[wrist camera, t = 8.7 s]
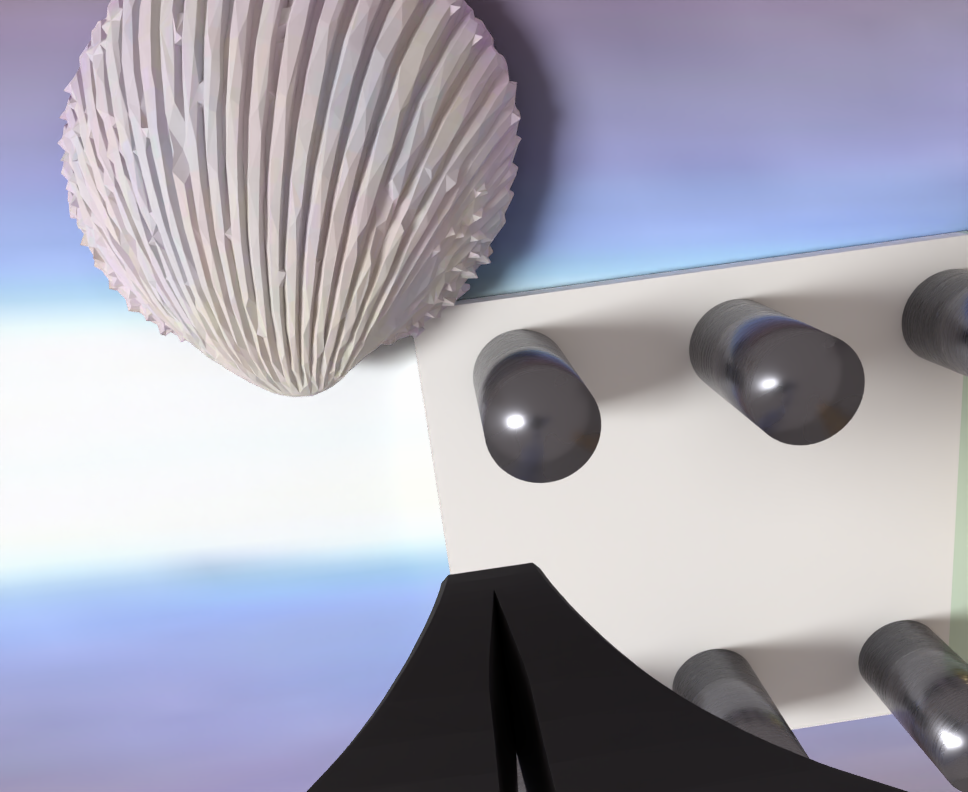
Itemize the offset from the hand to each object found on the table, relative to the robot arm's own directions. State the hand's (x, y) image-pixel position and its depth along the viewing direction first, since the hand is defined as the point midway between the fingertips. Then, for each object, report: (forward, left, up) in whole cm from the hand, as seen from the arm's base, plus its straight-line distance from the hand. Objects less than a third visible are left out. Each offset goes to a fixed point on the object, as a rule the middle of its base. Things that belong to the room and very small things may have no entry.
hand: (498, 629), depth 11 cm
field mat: (-4, -9, -10) cm, 14 cm away
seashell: (+7, +3, -10) cm, 12 cm away
